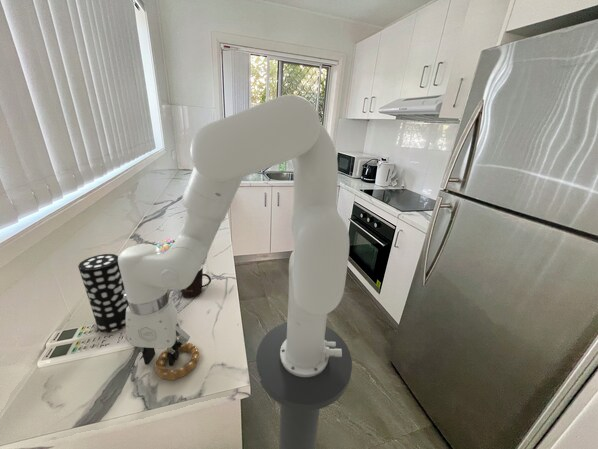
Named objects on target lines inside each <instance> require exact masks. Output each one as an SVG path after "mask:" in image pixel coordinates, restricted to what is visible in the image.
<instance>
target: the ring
mask: <svg viewBox="0 0 598 449" xmlns="http://www.w3.org/2000/svg"><path fill="white" fill-rule="evenodd" d="M178 351H179V352H180V351H187V352H188V353H189V354H190V357H191V358H190V359H189V361H188V362H187V363H186V364H184V366H182V367H179V368H177V369H175V370H174V369H167V368H166V367H165V362H166V361H167V360H168V357H167V354H168V352H169V351H168V349H167V348H165V350H163V351H162V352H161V353H160V354H159V356H158V358H157V359H156V361H155V363H154V368H155V370H154V371H155V374H156V375H157V376H158V377H160V379H162V380H172V381H175V380H178V379H180V378H182V377H185V376H187V375H188V374H189V373H190V372H191V371H192V370H194V369H195V368H196V366H197V363H198V362H199V360H200V355H201V354H200V351H199V347H198V346H196V345H195V344H193V342H187V343H185V344H184V345H181V347H180V348H178Z"/></svg>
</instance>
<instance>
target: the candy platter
mask: <svg viewBox="0 0 598 449" xmlns="http://www.w3.org/2000/svg"><path fill="white" fill-rule="evenodd" d="M176 240H177V238H176V239H172V238H171V237H168V238H166V239H163V240H161V242H159V243H157V244H156V246H157V247H158V248H159V249H160V251H161V253H162V254H163V253H165V252H167V251H168V250H169V248H170V247H171V246H172V245H173V244H174V243H175V242H176Z"/></svg>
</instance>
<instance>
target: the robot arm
mask: <svg viewBox="0 0 598 449" xmlns="http://www.w3.org/2000/svg"><path fill="white" fill-rule="evenodd" d="M320 119H321V118H320V115H319V113H318V110H317V109H316V108H315V105H313V103H311V101H310V100H308V99H306V98H305V97H303V96H301V95H299V94H298V95H296V94H284V95H280V96H277V97H274V98H271V99H269V100H267V101H264V102H262V103H259V104H256V105H254V106H252V107H249V108H246V109H243V110H242V111H239V112H237V113H234V114H232V115H229V116H227V117H224V118H221V119H217V120H215V121H213V122H210V123H207V124H205V125H203V126H202V127H200V128H199V129H198V130H197V131H196V132H195V134H194V136H193V137H192V139H191V143H190V148H189V153H190V160H191V162H192V165H193V168H192V170H191V173H190V175H189V179H188V181H187V184H186V186H185V189H184V192H183V194H182V196H181V202H182V205H183V207H184V208H185V209H186V215H185V218H184V221H183V223H182V225H181V226H182V227H181V229H180V231H179V233H178V236H177V238H176V239H177V240H176V239H175V240H176V242H175V243H174V244H173V245H172V246H171V247H170V248H169V250H168V251H167V252H165V253H163V254H162V253H161V251H160V249H159V248H158V247H157V245H156V244H155V245H154V244H152V243H151V244H150V243H142V244H141V243H140V244H136V245H132V246H129V247H127V248H125V249H123V250H121V252H120V253H119V254H118V255H117V256H118V265H119V269H120V273H121V277H122V281H123V285H124V289H125V293H126V294H124V296H123V299H124V300H127V301H128V305H129V306H128V307H127V309H126V326H125V331H126V334H125V335H124V337H123V338H124V339H125V340H126V341H128V343H129V345H130V346H132V347H135V348H137V351H138V352H139V353H141V354H142V359H143V362H144V365H145V366H148V365H150V363H151V362H152V360H153V358H154V357H155V355H156V351H155V349H168V351H169V352H168V354H167V361H168V366H169V367H173V366H174V364H175V362H176V361H178V360H179V357H180V351H178V348H180V347H181V345H184V344H185V343H189V340H190V338H191V336H190V335H189V334H188V333H187V332H185V331H184V330H183V329H182V324H181V320H180V317H179V314H178V310H177V307H176V305H175V304H174V301H173V299H170V294H169V291H181V290H182V289H185V288H187V287H188V286H189V285H190V284H191V283H192V282H193V280H194V279H195V277H196V275H197V273H198V271H199V269H200V267H201V265H203V263H204V261H205V260H206V258H207V256H208V254H209V251H210V248H211V247H212V244H213V242H214V240H215V238H216V236H217V234H218V231H219V229H220V227H221V225H222V223H223V222H224V220H225V219H226V217H227V214H228V212H229V210H230V208H231V206H232V204H233V201H234V199H235V196H236V195H237V192H238V191H239V188H240V185H241V184H242V182H243V179H244V178H245V177H247V176H250V175H253V174H256V173H259V172H261V171H265V170H266V169H269V168H272V167H274V166H278V165H280V164H282V163H286V162H288V161H290V160H291V164H292V170H293V172H292V174H293V203H292V204H293V205H292V215H291V231H292V237H293V238H292V239H293V251H291V254H290V257H289V260H288V301H287V302H288V303H287V339H286V340H285V341H284V342H283V344H282V346H281V349H280V359H281V362H282V364H283V366H284V367H285V368H286V370H288V371H289V372H290V373H292V374H294V375H296V376H299V377H312V376H315V375H317V374H319V373H321V372H322V371H323V370H324V369H325V367H326V365H327V363H328V358H329V356H334V357H342V349H329V347H336V342H327V341H326V340H325V330H326V326H327V321H328V314H330V313H331V312H332V311H334V310H335V309H336V308H337V307H338V306H339V304H341V301H342V299H343V296H344V293H345V287H346V280H347V272H348V264H349V257H350V256H349V255H350V234H349V230H348V227H347V225H346V223H345V221H344V219H343V218H342V217H341V215H340V214H339V212H338V207H337V205H338V204H337V200H338V181H339V180H338V177H339V163H338V156H337V151H336V148H335V144H334V142H333V139H332V138H331V136H330V134H329V133H328V130H327V129H326V127H325V126H324V125H323V124H322V123H321V120H320Z"/></svg>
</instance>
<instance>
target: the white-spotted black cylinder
mask: <svg viewBox="0 0 598 449" xmlns="http://www.w3.org/2000/svg"><path fill="white" fill-rule="evenodd" d="M118 256H119V255H117V254H114V253H103V254H98V255H97V254H96V255H93V256H91V257H88V258H85V259H84V260H82V261H81V262H79V263H78V265H77V268H78V271H79V274H80V277H81V280H82V284H83V286H84V289H85V293H86V296H87V299H88V301H89V305H90V309H91V310H92V314H93V317H94V321H95V324H96V326H97V330H98V331H99V332H101V333H113V332H117V331H119V330H122V329H123V328H126V309H127V307H128V306H129V305H128V301H127V300H124V299H123V296H124V294H126V293H125V289H124V285H123V281H122V277H121V273H120V269H119V265H118Z"/></svg>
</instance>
